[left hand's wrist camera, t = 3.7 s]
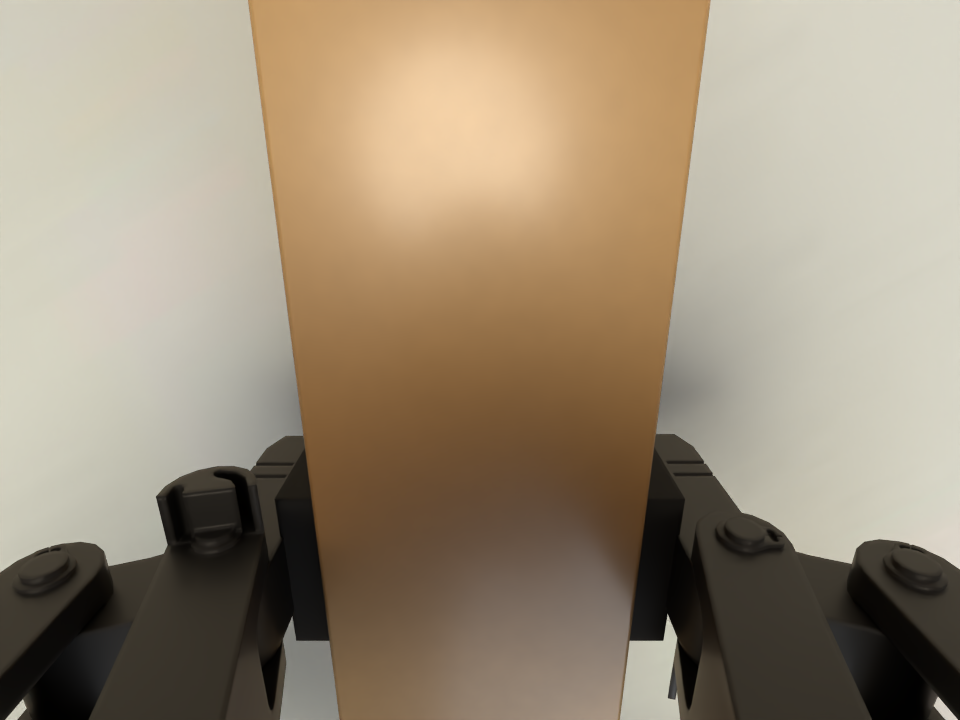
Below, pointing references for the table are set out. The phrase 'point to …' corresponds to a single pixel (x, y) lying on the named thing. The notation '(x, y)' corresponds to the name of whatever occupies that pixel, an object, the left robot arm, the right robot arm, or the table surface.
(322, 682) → the table surface
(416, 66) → the beam
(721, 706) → the left robot arm
